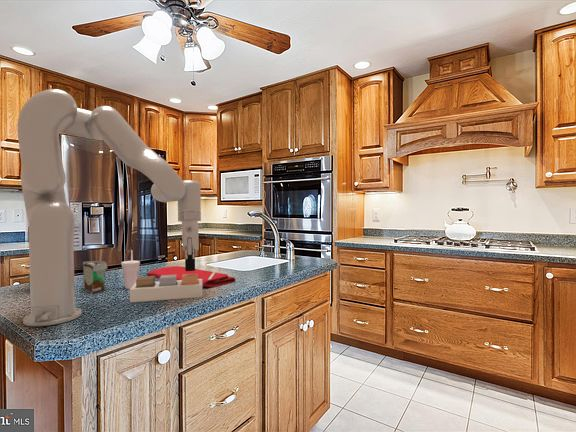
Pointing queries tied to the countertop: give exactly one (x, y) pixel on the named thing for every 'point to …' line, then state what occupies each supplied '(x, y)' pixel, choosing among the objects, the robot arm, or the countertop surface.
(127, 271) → the smoothie
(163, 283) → the grey key
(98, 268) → the food container
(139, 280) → the walnut key
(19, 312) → the countertop surface
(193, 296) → the keypad
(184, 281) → the orange key
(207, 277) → the red folded towel
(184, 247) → the robot arm
